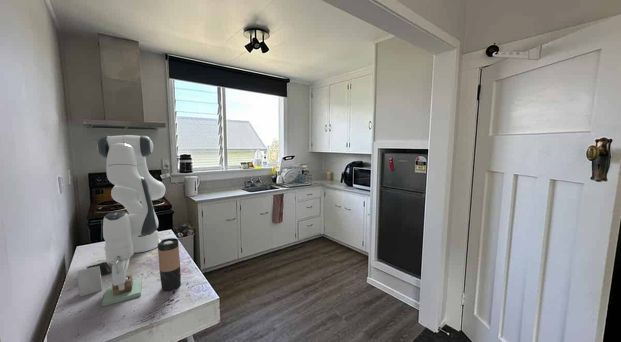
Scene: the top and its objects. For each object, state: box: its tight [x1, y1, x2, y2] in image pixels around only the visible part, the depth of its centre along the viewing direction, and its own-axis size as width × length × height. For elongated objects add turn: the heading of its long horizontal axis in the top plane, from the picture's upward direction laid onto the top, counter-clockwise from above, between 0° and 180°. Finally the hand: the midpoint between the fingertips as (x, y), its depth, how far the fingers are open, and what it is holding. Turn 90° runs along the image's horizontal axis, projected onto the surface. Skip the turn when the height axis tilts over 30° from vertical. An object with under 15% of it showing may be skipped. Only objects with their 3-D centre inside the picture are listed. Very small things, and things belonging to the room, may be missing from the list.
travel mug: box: [157, 237, 182, 292], centre depth 105 cm, size 8×8×20 cm
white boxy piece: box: [77, 266, 103, 297], centre depth 103 cm, size 4×7×10 cm, turn 128°
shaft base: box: [101, 277, 143, 307], centre depth 102 cm, size 12×12×6 cm
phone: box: [86, 261, 112, 278], centre depth 120 cm, size 8×1×15 cm
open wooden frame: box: [111, 273, 134, 295], centre depth 101 cm, size 6×6×4 cm
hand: (122, 284), depth 102 cm, fingers closed on open wooden frame, 6 cm apart
